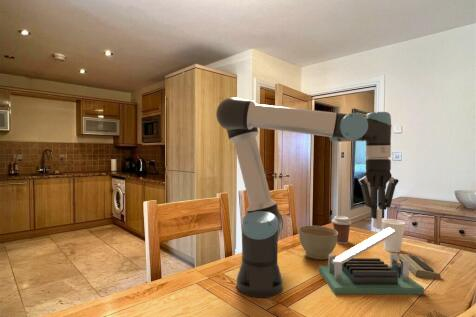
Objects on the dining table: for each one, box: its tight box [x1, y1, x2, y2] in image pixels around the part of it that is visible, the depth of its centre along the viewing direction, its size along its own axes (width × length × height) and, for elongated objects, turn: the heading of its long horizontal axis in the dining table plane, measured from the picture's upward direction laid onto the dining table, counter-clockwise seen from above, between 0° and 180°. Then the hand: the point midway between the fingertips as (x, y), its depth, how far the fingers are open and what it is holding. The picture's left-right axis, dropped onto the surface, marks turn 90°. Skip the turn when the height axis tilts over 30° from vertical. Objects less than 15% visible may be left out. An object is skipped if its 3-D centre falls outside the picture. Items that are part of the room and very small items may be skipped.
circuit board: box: [318, 265, 425, 295], centre depth 92 cm, size 28×16×2 cm, turn 90°
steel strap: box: [331, 228, 397, 266], centre depth 92 cm, size 23×4×2 cm, turn 90°
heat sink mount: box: [327, 252, 410, 285], centre depth 92 cm, size 24×12×8 cm, turn 90°
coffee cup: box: [331, 215, 352, 245], centre depth 133 cm, size 9×9×12 cm
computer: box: [398, 253, 441, 280], centre depth 103 cm, size 16×8×3 cm, turn 169°
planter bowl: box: [298, 225, 338, 260], centre depth 115 cm, size 16×16×11 cm
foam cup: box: [381, 218, 406, 254], centre depth 122 cm, size 10×9×13 cm
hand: (377, 227), depth 91 cm, fingers closed
